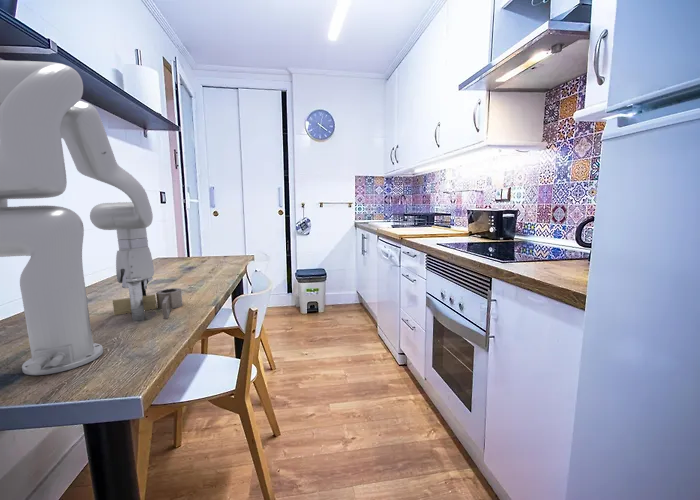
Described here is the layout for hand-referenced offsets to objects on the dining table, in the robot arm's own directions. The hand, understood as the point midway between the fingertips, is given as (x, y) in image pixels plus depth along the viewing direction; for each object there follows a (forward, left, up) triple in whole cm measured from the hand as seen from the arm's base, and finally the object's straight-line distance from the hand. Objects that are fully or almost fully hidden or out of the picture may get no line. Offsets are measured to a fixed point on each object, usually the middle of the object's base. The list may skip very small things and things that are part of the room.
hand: (140, 302), depth 103 cm
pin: (-12, -1, -2) cm, 12 cm away
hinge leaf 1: (-3, +1, -2) cm, 4 cm away
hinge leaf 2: (-7, -8, -2) cm, 11 cm away
